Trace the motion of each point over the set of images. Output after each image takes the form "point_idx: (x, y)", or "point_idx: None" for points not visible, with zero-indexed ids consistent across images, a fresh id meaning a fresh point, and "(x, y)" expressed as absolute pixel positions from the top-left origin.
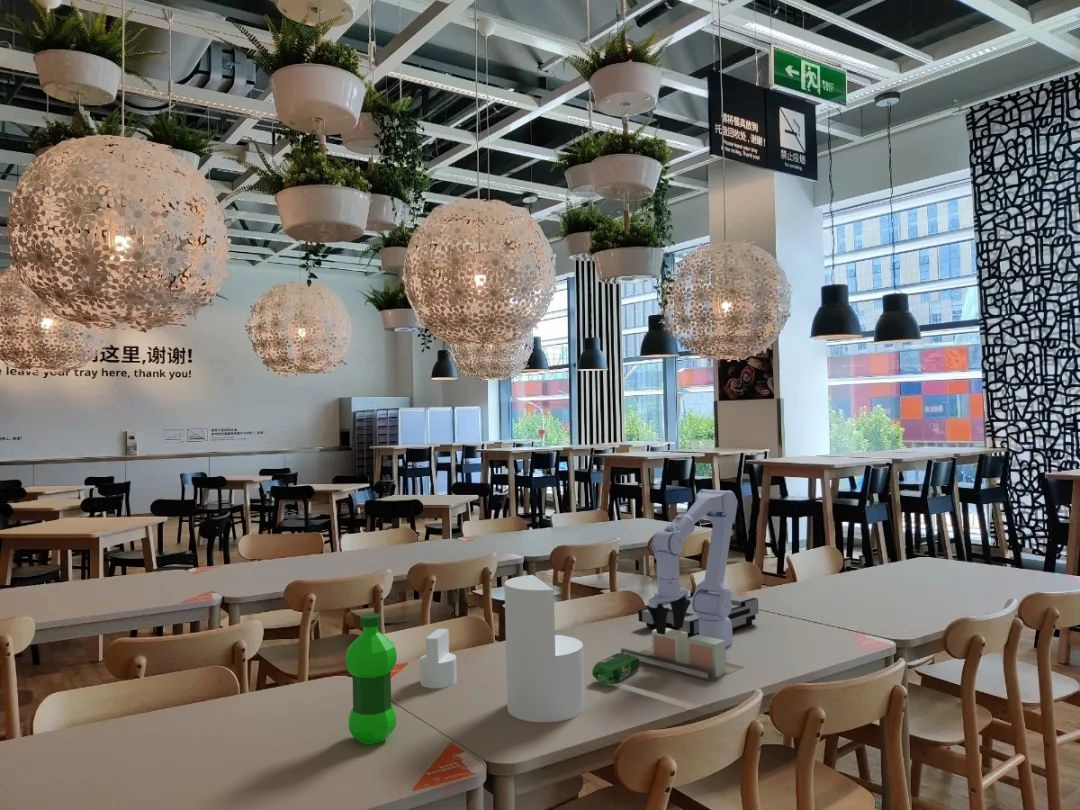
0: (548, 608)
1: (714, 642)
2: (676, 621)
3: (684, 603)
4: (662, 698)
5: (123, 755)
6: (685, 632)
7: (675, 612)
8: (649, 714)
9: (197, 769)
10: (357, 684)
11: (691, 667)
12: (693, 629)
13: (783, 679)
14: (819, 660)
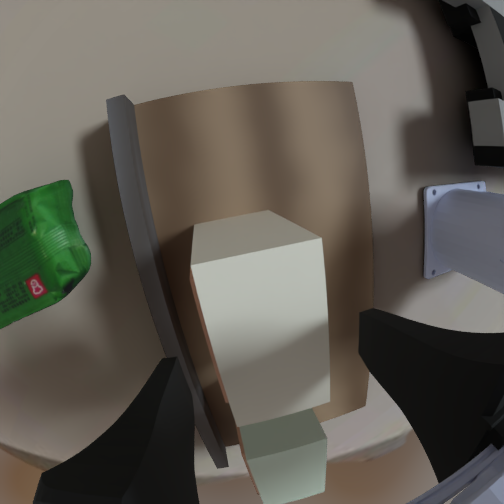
0: None
1: (282, 499)
2: (379, 342)
3: (442, 477)
4: (68, 424)
5: None
6: (320, 400)
7: (420, 368)
8: (25, 440)
9: None
10: None
11: (198, 430)
12: (486, 162)
13: (357, 448)
14: None
